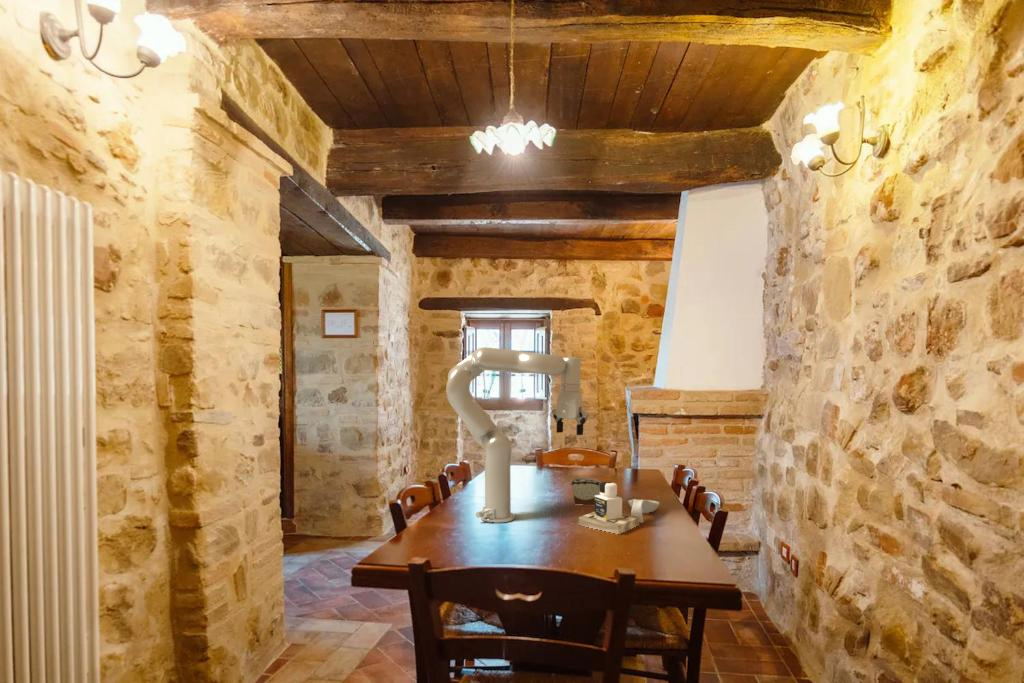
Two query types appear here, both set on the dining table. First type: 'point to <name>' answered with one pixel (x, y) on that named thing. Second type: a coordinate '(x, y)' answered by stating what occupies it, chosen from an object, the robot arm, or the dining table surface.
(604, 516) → the medicine bottle
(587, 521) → the birch plinth
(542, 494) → the dining table surface
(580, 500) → the food container
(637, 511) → the spoon rest
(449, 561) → the dining table surface
